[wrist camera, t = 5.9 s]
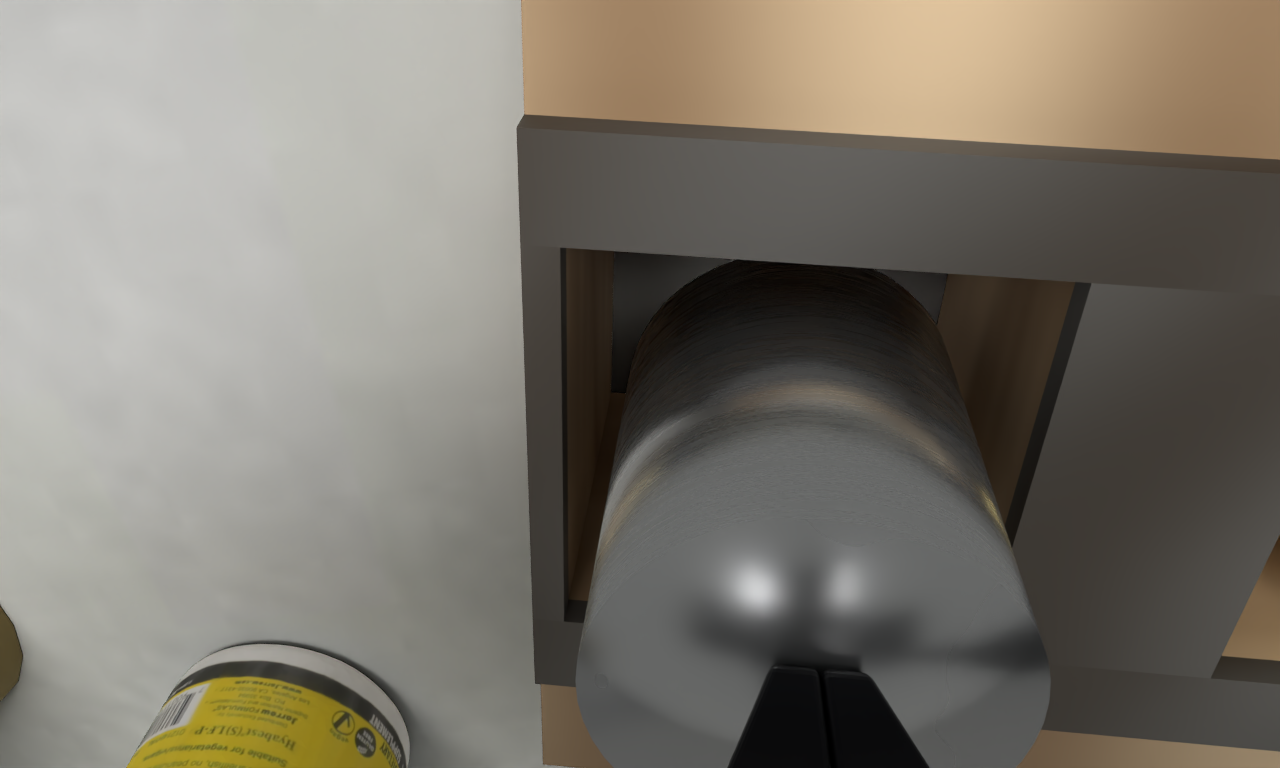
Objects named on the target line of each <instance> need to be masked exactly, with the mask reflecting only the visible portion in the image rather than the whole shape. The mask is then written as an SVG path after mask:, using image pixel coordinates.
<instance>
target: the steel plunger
mask: <svg viewBox="0 0 1280 768" xmlns="http://www.w3.org/2000/svg"><path fill="white" fill-rule="evenodd" d="M775 665H786V666H797V667H809V668H813V669H815V670H816V671H817V672H818V674H819V675H820V674H821V672H823V671H824V670H828V669H831V670H842V671H853V672H862V673H866V674H867V675H869V676H870V677H871V678H872V679H873V680H874V682H875V683H876V684H877V686H878V688H879V689H880V691H881V692H882V694H883V695H884V697H885V699H886V700H887V702H888V703H889V705H890V706H891V708H892V709H893V711H894V713H895V714H896V716H897V717H898V719H899V720H900V722H901V724H902V725H903V727H904V728H905V730H906V731H907V733H908V734H909V736H910V738H911V739H912V741H913V742H914V744H915V745H916V747H917V749H918V750H919V752H920V753H921V755H922V756H923V758H924V759H925V761H926V763H927V764H928V766H929V767H930V768H1016V767H1017V766H1018V765H1019V764H1020V763H1021V762H1022V760H1023V759H1024V757H1025V756H1026V754H1027V753H1028V752H1029V750H1030V749H1031V747H1032V746H1033V744H1034V743H1035V741H1036V739H1037V736H1038V734H1039V732H1040V730H1041V728H1042V726H1043V724H1044V721H1045V717H1046V713H1047V709H1048V706H1049V701H1050V685H1051V678H1050V670H1049V663H1048V657H1047V654H1046V651H1045V648H1044V645H1043V642H1042V639H1041V636H1040V633H1039V630H1038V627H1037V624H1036V620H1035V617H1034V614H1033V611H1032V608H1031V605H1030V602H1029V599H1028V596H1027V593H1026V590H1025V587H1024V584H1023V581H1022V578H1021V575H1020V572H1019V568H1018V565H1017V562H1016V559H1015V556H1014V553H1013V550H1012V547H1011V544H1010V541H1009V538H1008V535H1007V532H1006V529H1005V526H1004V523H1003V520H1002V517H1001V513H1000V510H999V507H998V504H997V501H996V498H995V495H994V492H993V489H992V486H991V483H990V480H989V477H988V474H987V471H986V468H985V465H984V461H983V458H982V455H981V452H980V449H979V446H978V443H977V440H976V437H975V434H974V431H973V428H972V425H971V422H970V419H969V416H968V413H967V410H966V406H965V403H964V400H963V397H962V394H961V391H960V388H959V385H958V382H957V379H956V376H955V373H954V370H953V367H952V364H951V361H950V358H949V355H948V352H947V349H946V346H945V343H944V340H943V337H942V335H941V333H940V332H939V330H938V328H937V326H936V324H935V322H934V320H933V319H932V318H931V316H930V315H929V314H928V312H927V311H926V310H925V308H924V307H923V306H922V305H921V304H920V303H919V302H918V301H917V300H916V299H915V298H914V297H913V296H912V295H911V294H910V293H909V292H908V291H907V290H906V289H904V288H903V287H902V286H900V285H899V284H898V283H896V282H895V281H894V280H892V279H891V278H889V277H887V276H886V275H884V274H882V273H880V272H878V271H876V270H875V269H873V268H858V267H844V266H829V265H814V264H799V263H784V262H769V261H754V260H739V259H738V260H735V261H732V262H729V263H727V264H724V265H721V266H718V267H716V268H714V269H712V270H710V271H708V272H706V273H705V274H703V275H701V276H699V277H697V278H696V279H694V280H693V281H691V282H690V283H688V284H687V285H685V286H684V287H683V288H681V289H680V290H679V291H678V292H677V293H675V294H674V295H673V296H672V297H671V298H670V299H669V300H668V301H667V302H665V304H664V305H663V306H662V307H661V308H660V310H659V311H658V312H657V313H656V314H655V315H654V317H653V318H652V320H651V321H650V323H649V324H648V326H647V327H646V329H645V331H644V332H643V334H642V336H641V339H640V341H639V343H638V345H637V348H636V350H635V353H634V357H633V361H632V364H631V368H630V374H629V379H628V385H627V390H626V396H625V401H624V407H623V412H622V417H621V423H620V428H619V434H618V439H617V445H616V450H615V456H614V461H613V467H612V472H611V478H610V483H609V489H608V494H607V500H606V505H605V511H604V516H603V521H602V527H601V532H600V538H599V543H598V549H597V554H596V560H595V565H594V571H593V576H592V582H591V587H590V593H589V598H588V604H587V609H586V615H585V620H584V626H583V631H582V636H581V642H580V647H579V653H578V658H577V668H576V679H575V682H576V692H577V701H578V705H579V708H580V712H581V715H582V719H583V722H584V724H585V726H586V728H587V730H588V732H589V734H590V736H591V738H592V740H593V742H594V743H595V745H596V746H597V748H598V749H599V751H600V752H601V753H602V755H603V756H604V758H605V759H606V760H607V761H608V762H609V763H610V764H611V765H612V767H613V768H727V767H728V765H729V763H730V760H731V758H732V755H733V753H734V751H735V748H736V746H737V744H738V741H739V739H740V737H741V734H742V732H743V730H744V727H745V725H746V723H747V720H748V718H749V715H750V713H751V711H752V708H753V706H754V704H755V701H756V699H757V697H758V694H759V692H760V690H761V687H762V685H763V682H764V680H765V678H766V675H767V673H768V671H769V669H770V668H771V667H772V666H775Z"/></svg>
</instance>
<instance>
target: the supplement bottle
mask: <svg viewBox="0 0 1280 768" xmlns="http://www.w3.org/2000/svg"><path fill="white" fill-rule="evenodd" d="M409 755H410V742H409V736H408V732H407V729H406V726H405V723H404V721H403V719H402V717H401V714H400V713H399V711H398V709H397V708H396V706H395V705H394V704H393V702H392V701H391V700H390V699H389V697H388V696H387V695H386V694H385V693H384V692H383V691H382V689H380V688H379V687H378V686H377V685H376V684H375V683H374V682H373V681H371V680H370V679H369V678H368V677H366V676H365V675H364V674H362V673H361V672H359V671H358V670H356V669H355V668H353V667H351V666H349V665H347V664H346V663H344V662H342V661H339V660H337V659H335V658H332V657H330V656H327V655H325V654H322V653H318V652H315V651H311V650H307V649H303V648H298V647H293V646H287V645H276V644H251V645H242V646H235V647H231V648H227V649H224V650H221V651H218V652H216V653H213V654H211V655H209V656H207V657H205V658H204V659H202V660H200V661H199V662H198V663H196V664H195V665H194V666H192V667H191V668H190V669H189V670H188V671H187V672H186V673H185V675H184V676H183V677H182V678H181V679H180V681H179V682H178V684H177V685H176V687H175V688H174V690H173V691H172V693H171V694H170V696H169V697H168V699H167V701H166V702H165V704H164V705H163V707H162V709H161V711H160V712H159V714H158V715H157V717H156V718H155V720H154V722H153V723H152V725H151V727H150V729H149V730H148V732H147V733H146V735H145V736H144V738H143V740H142V742H141V743H140V745H139V747H138V749H137V750H136V752H135V754H134V755H133V757H132V759H131V761H130V763H129V764H128V766H127V767H126V768H407V767H408V763H409Z"/></svg>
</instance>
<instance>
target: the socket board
mask: <svg viewBox="0 0 1280 768" xmlns="http://www.w3.org/2000/svg"><path fill="white" fill-rule="evenodd" d="M521 11H522V46H523V81H524V116H523V118H522V119H521V121H520V123H519V125H518V126H517V152H518V182H519V212H520V243H521V273H522V303H523V334H524V364H525V394H526V424H527V455H528V485H529V515H530V546H531V576H532V606H533V636H534V667H535V684H541V709H542V744H543V764H546V765H557V766H567V767H577V768H613V767H612V765H611V764H610V763H609V762H608V761H607V760H606V759H605V758H604V756H603V755H602V753H601V752H600V751H599V749H598V748H597V746H596V745H595V743H594V742H593V740H592V738H591V736H590V734H589V732H588V730H587V728H586V726H585V724H584V722H583V719H582V715H581V712H580V708H579V705H578V701H577V692H576V682H575V679H576V668H577V658H578V653H579V647H580V642H581V636H582V631H583V626H584V620H585V615H586V609H587V604H588V598H589V593H590V587H591V582H592V576H593V571H594V565H595V560H596V554H597V549H598V543H599V538H600V532H601V527H602V521H603V516H604V511H605V505H606V500H607V494H608V489H609V483H610V478H611V472H612V467H613V461H614V456H615V450H616V445H617V439H618V434H619V428H620V423H621V417H622V412H623V407H624V401H625V396H626V393H614V392H611V376H612V327H613V279H614V251H620V252H635V253H650V254H665V255H680V256H695V257H709V258H724V259H739V260H754V261H769V262H784V263H799V264H814V265H829V266H844V267H858V268H873V269H888V270H903V271H918V272H933V273H948V277H947V282H946V286H945V291H944V296H943V300H942V305H941V310H940V314H939V319H938V323H937V328H938V330H939V332H940V333H941V335H942V337H943V340H944V343H945V346H946V349H947V352H948V355H949V358H950V361H951V364H952V367H953V370H954V373H955V376H956V379H957V382H958V385H959V388H960V391H961V394H962V397H963V400H964V403H965V406H966V410H967V413H968V416H969V419H970V422H971V425H972V428H973V431H974V434H975V437H976V440H977V443H978V446H979V449H980V452H981V455H982V458H983V461H984V465H985V468H986V471H987V474H988V477H989V480H990V483H991V486H992V489H993V492H994V495H995V498H996V501H997V504H998V507H999V510H1000V513H1001V517H1002V520H1003V523H1004V526H1005V529H1006V532H1007V535H1008V538H1009V541H1010V544H1011V547H1012V550H1013V553H1014V556H1015V559H1016V562H1017V565H1018V568H1019V572H1020V575H1021V578H1022V581H1023V584H1024V587H1025V590H1026V593H1027V596H1028V599H1029V602H1030V605H1031V608H1032V611H1033V614H1034V617H1035V620H1036V624H1037V627H1038V630H1039V633H1040V636H1041V639H1042V642H1043V645H1044V648H1045V651H1046V654H1047V657H1048V663H1049V670H1050V678H1051V685H1050V701H1049V706H1048V709H1047V713H1046V717H1045V721H1044V724H1043V726H1042V728H1041V730H1040V732H1039V734H1038V736H1037V739H1036V741H1035V743H1034V744H1033V746H1032V747H1031V749H1030V750H1029V752H1028V753H1027V754H1026V756H1025V757H1024V759H1023V760H1022V762H1021V763H1020V764H1019V765H1018V766H1017V767H1016V768H1280V0H521Z"/></svg>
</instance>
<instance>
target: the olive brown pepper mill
mask: <svg viewBox="0 0 1280 768" xmlns="http://www.w3.org/2000/svg"><path fill="white" fill-rule="evenodd" d="M22 657H23V655H22V652H21V648H20V645H19V642H18V639H17V635H16V632H15V629H14V626H13V624H12V623H11V621H10V620H9V618H8V617H7V616H6V614H5V613H4V611H3V610H2V609H1V607H0V701H1V700H2V699H3V698H4V697H5V696H6V695H7V694H8V692H9V691H10V690H11V689H12V688H13V687H14V686H15V685H16V683H17V682H18V681H19V675H20V669H21V663H22Z"/></svg>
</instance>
